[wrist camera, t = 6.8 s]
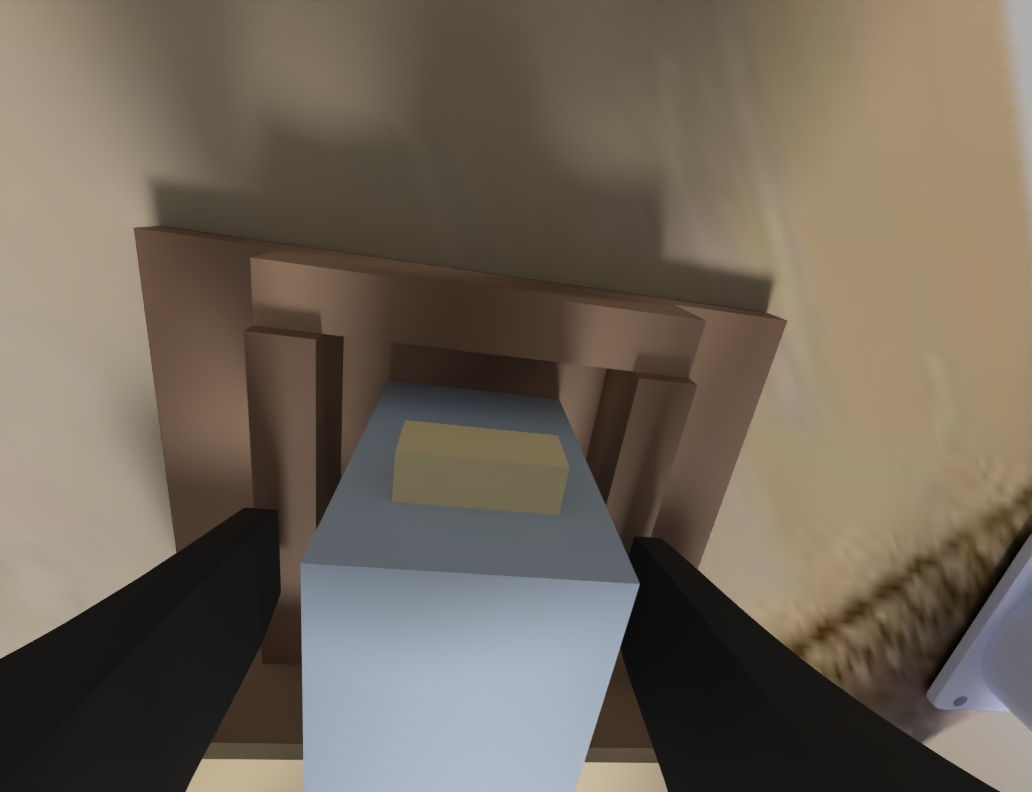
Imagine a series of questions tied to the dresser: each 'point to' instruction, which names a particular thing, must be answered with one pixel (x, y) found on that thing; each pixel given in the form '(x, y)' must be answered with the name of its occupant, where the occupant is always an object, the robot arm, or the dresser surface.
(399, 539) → the cabinet block
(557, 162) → the dresser surface
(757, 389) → the rack
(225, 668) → the robot arm
